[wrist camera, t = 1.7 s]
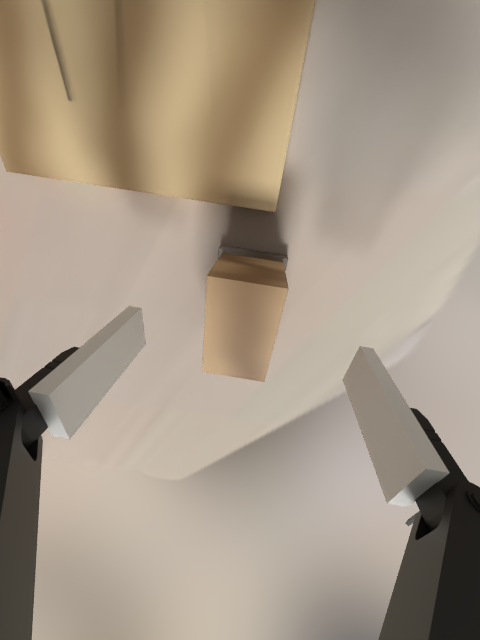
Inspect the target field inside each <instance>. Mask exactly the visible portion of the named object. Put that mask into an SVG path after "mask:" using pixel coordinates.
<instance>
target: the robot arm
mask: <svg viewBox="0 0 480 640" xmlns="http://www.w3.org/2000/svg"><path fill="white" fill-rule="evenodd" d="M145 344H146V342H145V334H144V325H143V317H142V309H141V308H138V307H132V306H129V307H127V308H126V309H125V310H124V311H123V312H122V313H120V314H119V315H118V316H117V317H116V318H114V319H113V320H112V321H111V322H110V323H109V324H107V325H106V326H105V327H104V328H103V329H101V330H100V331H99V332H98V333H97V334H95V335H94V336H93V337H92V338H91V339H90V340H88V341H87V342H86V343H85V344H84V345H82V346H81V347H80V348H78V347H73V348H70V349H68V350H66V351H64V352H62V353H61V354H60V355H58V356H57V357H56V358H54V359H53V360H52V362H49V363H48V364H47V365H46V366H45V367H44V368H42V369H41V370H39V371H38V372H37V373H36V374H34V375H33V376H32V377H31V378H29V379H28V380H27V381H26V382H24V383H23V384H22V385H21V386H19V387H18V388H17V389H16V390H15V389H14V388H13V386H12V384H11V383H10V381H9V380H7V379H6V378H0V640H31V639H32V621H33V604H34V586H35V568H36V551H37V533H38V514H39V497H40V479H41V461H42V443H43V440H42V436H41V434H42V433H43V432H44V431H45V430H46V429H47V428H48V429H49V431H50V433H51V435H52V436H55V437H60V438H65V439H70V438H71V437H72V436H73V435H74V433H75V432H76V431H77V430H78V428H79V427H80V426H81V425H82V423H83V422H84V421H85V420H86V418H87V417H88V416H89V415H90V413H91V412H92V411H93V410H94V408H95V407H96V406H97V405H98V403H99V402H100V401H101V400H102V398H103V397H104V396H105V395H106V393H107V392H108V391H109V389H110V388H111V387H112V386H113V384H114V383H115V382H116V381H117V379H118V378H119V377H120V376H121V374H122V373H123V372H124V371H125V369H126V368H127V367H128V366H129V364H130V363H131V362H132V361H133V359H134V358H135V357H136V356H137V354H138V353H139V352H140V351H141V349H142V348H143V347H144V346H145ZM343 382H344V385H345V387H346V390H347V393H348V396H349V399H350V401H351V404H352V407H353V410H354V412H355V415H356V418H357V421H358V423H359V426H360V429H361V432H362V435H363V438H364V440H365V443H366V446H367V448H368V451H369V454H370V457H371V460H372V462H373V465H374V468H375V471H376V474H377V476H378V479H379V482H380V485H381V487H382V490H383V493H384V496H385V498H386V501H387V503H388V504H393V505H398V506H403V507H408V506H409V505H410V504H412V503H413V502H414V501H416V503H417V505H418V507H419V510H420V511H419V512H418V513H416V514H415V515H414V516H412V517H411V518H410V519H408V521H407V522H406V524H407V525H408V526H409V525H411V524H412V523H413V522H414V523H413V526H412V529H411V533H410V536H409V540H408V543H407V547H406V550H405V553H404V556H403V560H402V563H401V567H400V570H399V573H398V576H397V580H396V583H395V586H394V590H393V593H392V596H391V600H390V603H389V606H388V610H387V613H386V617H385V620H384V623H383V626H382V630H381V633H380V637H379V640H480V487H478V486H476V485H475V484H473V483H470V482H469V481H468V480H467V478H466V477H465V476H464V474H463V472H462V471H461V469H460V468H459V466H458V465H457V463H456V462H455V460H454V459H453V457H452V456H451V454H450V453H449V451H448V450H447V448H446V447H445V445H444V444H443V443H442V442H441V439H440V438H439V436H438V435H437V433H435V430H434V428H433V427H432V426H431V424H430V422H429V421H428V420H427V419H426V418H425V417H424V416H423V415H422V414H421V413H420V412H419V411H418V410H417V409H414V408H409V406H408V404H407V403H406V401H405V399H404V398H403V396H402V395H401V393H400V391H399V390H398V388H397V386H396V385H395V383H394V382H393V380H392V378H391V377H390V375H389V373H388V372H387V370H386V369H385V367H384V365H383V364H382V362H381V360H380V359H379V357H378V356H377V354H376V352H375V351H374V349H373V348H367V347H361V346H360V347H359V349H358V351H357V353H356V355H355V357H354V359H353V361H352V363H351V365H350V367H349V368H348V370H347V372H346V374H345V376H344V378H343Z"/></svg>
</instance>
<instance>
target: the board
mask: <svg viewBox="0 0 480 640" xmlns="http://www.w3.org/2000/svg"><path fill="white" fill-rule="evenodd" d="M314 5H315V0H0V155H1V158H2V161H3V163H4V166H5V169H6V171H7V172H13V173H20V174H27V175H33V176H40V177H47V178H53V179H60V180H66V181H73V182H80V183H86V184H93V185H100V186H106V187H113V188H119V189H126V190H133V191H139V192H146V193H153V194H159V195H166V196H172V197H179V198H186V199H192V200H199V201H206V202H212V203H219V204H225V205H232V206H239V207H245V208H252V209H258V210H265V211H272V212H275V211H276V206H277V201H278V196H279V190H280V185H281V180H282V174H283V169H284V164H285V159H286V153H287V148H288V143H289V137H290V132H291V127H292V122H293V116H294V111H295V106H296V100H297V95H298V90H299V85H300V79H301V74H302V69H303V63H304V58H305V53H306V48H307V42H308V37H309V32H310V27H311V21H312V16H313V11H314Z"/></svg>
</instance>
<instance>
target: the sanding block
mask: <svg viewBox="0 0 480 640" xmlns="http://www.w3.org/2000/svg"><path fill="white" fill-rule="evenodd" d="M287 262H288V257H287V256H286V255H280V254H273V253H267V252H260V251H254V250H248V249H241V248H235V247H228V246H222V245H221V246H220V247H219V251H218V260H217V262H216V263H215V265H214V266H213V268H212V269H211V271H210V272H209V274H208V275H207V287H206V307H205V327H204V346H203V366H202V372H208V373H214V374H220V375H226V376H232V377H238V378H244V379H250V380H256V381H261V382H265V378H266V374H267V370H268V366H269V362H270V358H271V354H272V351H273V347H274V343H275V339H276V335H277V331H278V327H279V324H280V320H281V316H282V312H283V308H284V304H285V300H286V297H287V293H288V284H287V279H286V274H285V270H286V266H287Z"/></svg>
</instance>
